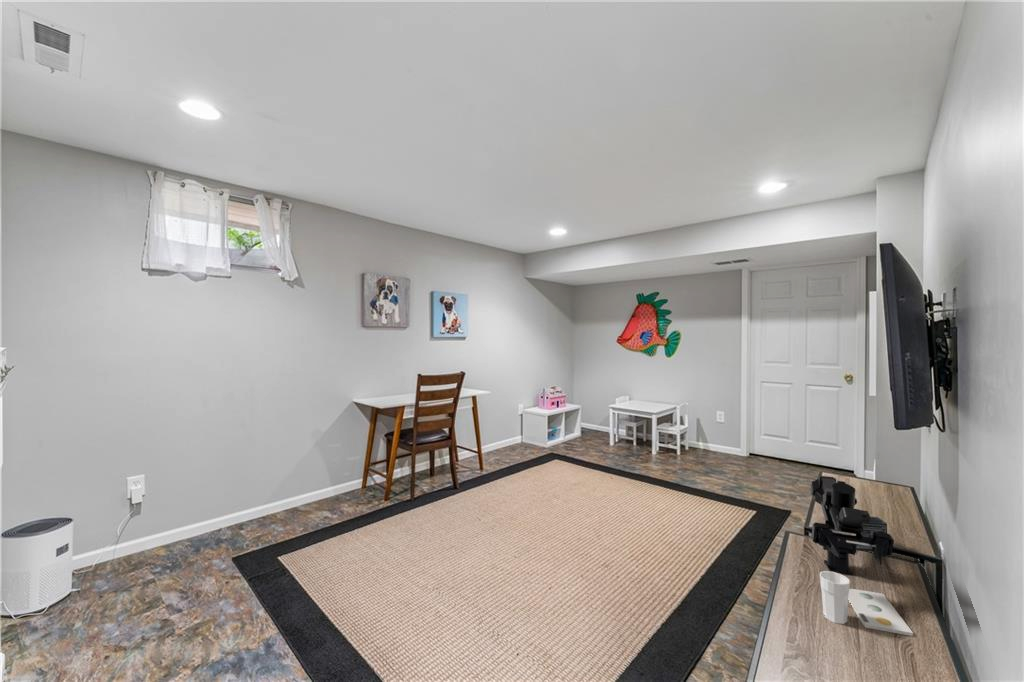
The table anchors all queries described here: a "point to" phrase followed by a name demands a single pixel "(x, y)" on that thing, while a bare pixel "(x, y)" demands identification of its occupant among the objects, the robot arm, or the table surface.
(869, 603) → the indicator panel
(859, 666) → the table surface
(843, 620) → the cup
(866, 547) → the small box
